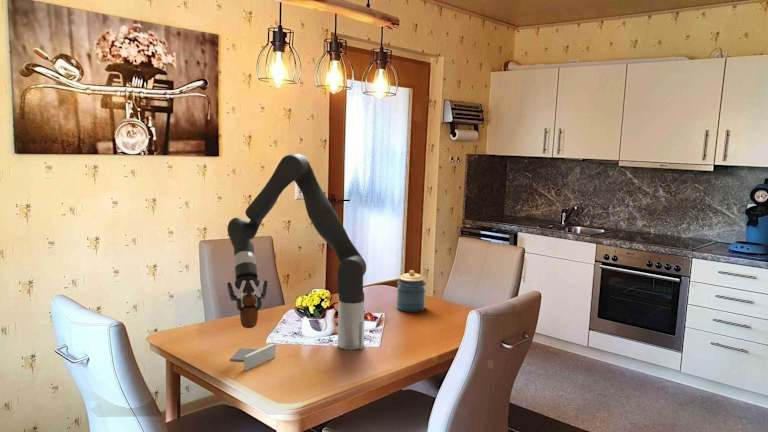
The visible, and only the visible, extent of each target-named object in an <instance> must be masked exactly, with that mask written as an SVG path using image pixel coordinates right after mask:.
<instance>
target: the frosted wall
mask: <svg viewBox="0 0 768 432" xmlns="http://www.w3.org/2000/svg"><path fill="white" fill-rule="evenodd" d="M275 357H276V343H271V344H268V345H266V346H263V347H262V348H259V350H257V351H254V352H252V353H250V354H248V355H245V356H244V361H243V370H244V371H249V370H251V369H252V368H254V367H257V366H259V365H261V364H263V363H265V362H267V361H270V360H271V359H274V358H275Z"/></svg>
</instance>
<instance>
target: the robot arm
mask: <svg viewBox="0 0 768 432" xmlns="http://www.w3.org/2000/svg"><path fill="white" fill-rule="evenodd" d="M291 183H295V184H296V186H297V188H299V190H300V191H301V194H302V197H303V201H304V205H305V209H306V214H307V216H308V218H309V221H310V222H311V223H312V225H313V227H314V229H315V230H316V231H317V234H318V235H319V236H320V237H321V238H322V239H323V240H324V241H325V242H326V244H328V246H329V247H331V248H332V250H333V252H334V253H335V255H336V257H337V259H338V261H339V264H338V268H337V275H336V276H337V279H336V280H337V294H338V313H337V315H338V322H337V324H338V325H337V346H338V348H340V349H341V350H346V351H355V350H362V349H363V347H364V344H365V293H364V275H365V274H366V271H367V264H366V261H365V259H364V258H363V257H362V255H361V253H360V252H359V251H358V250H357V248H356V247H355V245H354V244H353V243H352V240H351V239H350V238H349V235H348V233H347V231H346V229H345V227H344V226H343V224H342V222H341V220H340V218H339V216H338V213H337V212H336V211H335V209H334V207H333V205H332V204H331V202H330V201H329V199H328V197H327V196H326V193H325V192H324V190H323V189H322V187H321V186H320V183H319V182H318V180H317V177H316V175H315V173H314V171H313V169H312V166H311V164H310V162H309V160H308V158H307V157H306V156H304V155H303V154H301V153H292V154H287V155H284V156H283V157H282V158H281V160H280V161H279V162H278V164H277V166H276V168H275V170H274V171H273V173H272V175H271V177H270V178H269V180H268V181H267V182H266V184H265V186H264V187H263V188H261V189H262V190H261V191H260V192H259V193H258V194H257V196H256V197H255V198H254V199H253V200H252V202H250V204H249V205H248V206H247V207H246V209H245V216H246V217H247V218H248V219H249V221H248V220H245V219H243V218H240V217H234V218H233V217H232V219H231V220H229V222H228V224H227V234H228V237H229V240H230V243H231V245H232V247H233V251H234V252H233V253H234V254H233V255H234V261H233V262H234V263H233V264H234V265H233V266H234V274H235V281H234V282H232V283H231V282H227V285H226V288H227V292H228V295H229V298H230V301H232V302H233V301H235V302H236V310H238V311H239V312H241V311H242V307H243V303H242V298H243V294H244V295H246V294H247V286H248V284H249V286H250V291H251V294H253V295H255V297H256V307H257V310H258V311H260V309H261V308H262V299H264V300H265V298H266V295H267V289H268V281H267V280H264V281H260V279H259V277H258V276H259V274H258V269H257V268H258V267H257V259H256V254H255V247H254V243H253V241H251V240H252V239H254V238H255V237H256V235H257V233H258V231H259V228H260V226H261V224H262V222H263V220H264V219H265V218H266V217H267V215H269V213H270V211H271V210H272V209H273V208H274V206H275V204H276V203H277V201H278V199H279V197H280V195H281V194H282V193H283V191H285V189H286V188H287V187H288V186H289V185H291ZM258 287H261V288H262V293H260V291H259V288H258ZM235 288H236V289H237V290H238V293H237V294H236V295H235V291H234V289H235Z"/></svg>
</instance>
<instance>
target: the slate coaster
mask: <svg viewBox="0 0 768 432" xmlns="http://www.w3.org/2000/svg"><path fill="white" fill-rule="evenodd" d="M259 349H260V348H259ZM259 349H258V348H255V349H254V348H242V347H241V348H239V349H238V350H237V351H236V352H235V353H234V354H233V355H232V356H231V357H230V358H229V361H232V362H234V361H235V362H244V356H245V355H248V354H250V353H252V352H254V351H257V350H259Z"/></svg>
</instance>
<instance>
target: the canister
mask: <svg viewBox="0 0 768 432" xmlns="http://www.w3.org/2000/svg"><path fill="white" fill-rule="evenodd" d="M408 271H409V272H407V273H403V274H402V275H400V276H399V277H398V280H397V282H396V283H397V288H396V291H397V292H396V293H397V294H396V308H397V310H399V311H402V312H406V313H407V312H408V313H417V312H423V311H424V310H425V307H426V288H425V286H426V284H427V283H426V282H425V278H424V276H422V275H421V274H420V273H416V272H415V270H414V269H413V270H412V269H410V270H408Z"/></svg>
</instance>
